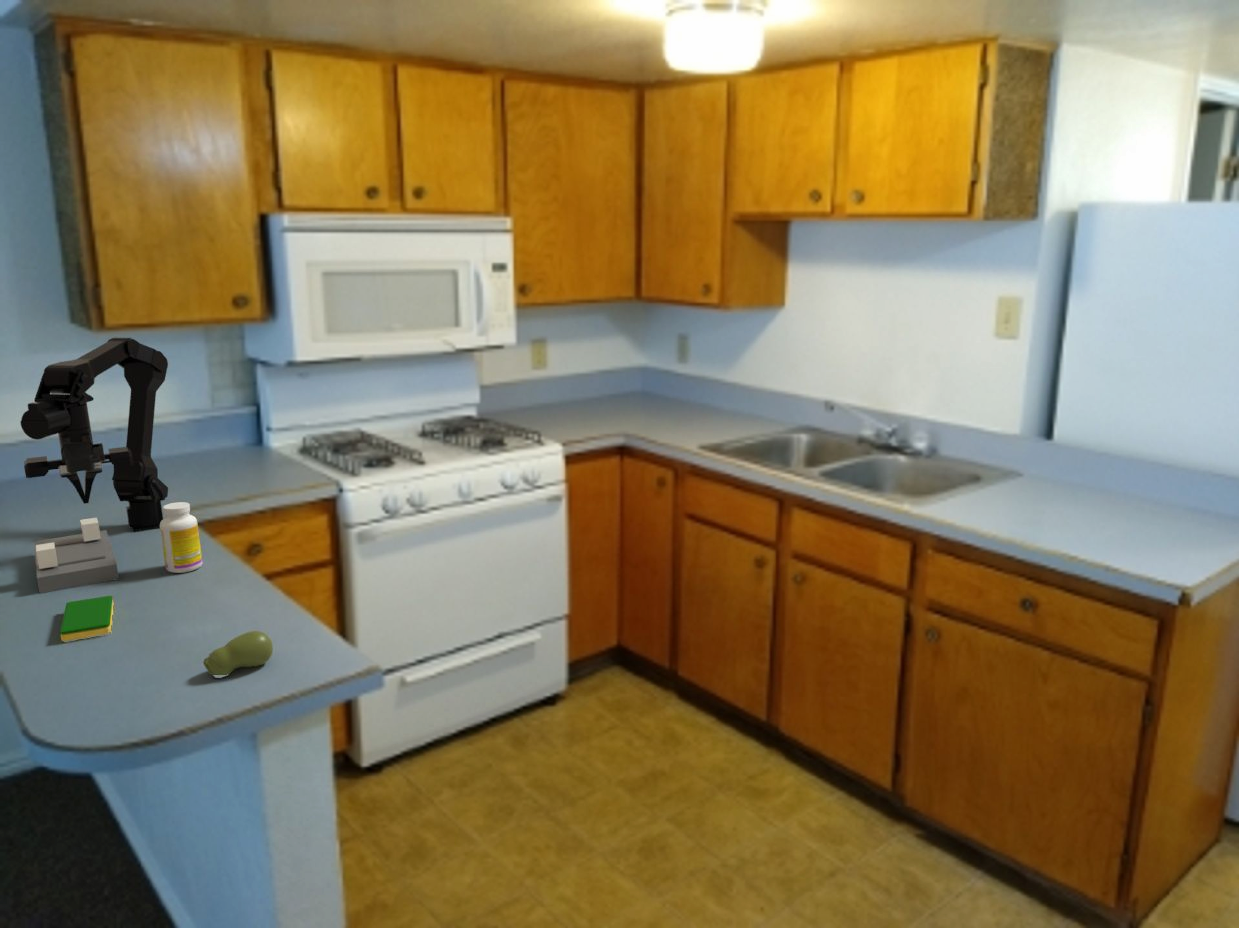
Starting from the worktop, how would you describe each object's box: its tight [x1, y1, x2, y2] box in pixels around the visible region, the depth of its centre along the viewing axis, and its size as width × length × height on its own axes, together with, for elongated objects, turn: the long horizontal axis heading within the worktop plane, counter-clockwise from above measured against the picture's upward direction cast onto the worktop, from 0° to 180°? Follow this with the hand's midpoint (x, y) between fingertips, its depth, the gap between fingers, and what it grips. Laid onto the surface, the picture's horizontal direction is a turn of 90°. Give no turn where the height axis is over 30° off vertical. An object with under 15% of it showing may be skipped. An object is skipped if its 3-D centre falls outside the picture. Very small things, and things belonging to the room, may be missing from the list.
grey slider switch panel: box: [33, 529, 119, 594], centre depth 187 cm, size 13×24×3 cm, turn 32°
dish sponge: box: [59, 595, 115, 642], centre depth 161 cm, size 7×14×2 cm, turn 25°
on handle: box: [36, 542, 58, 569], centre depth 178 cm, size 3×4×4 cm
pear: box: [202, 630, 274, 676], centre depth 144 cm, size 6×5×10 cm
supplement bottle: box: [159, 501, 203, 574], centre depth 185 cm, size 7×7×13 cm
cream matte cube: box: [79, 517, 101, 542], centre depth 193 cm, size 3×4×4 cm
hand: (86, 503), depth 192 cm, fingers closed
